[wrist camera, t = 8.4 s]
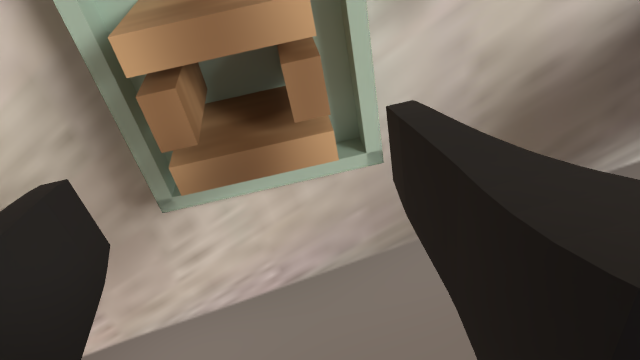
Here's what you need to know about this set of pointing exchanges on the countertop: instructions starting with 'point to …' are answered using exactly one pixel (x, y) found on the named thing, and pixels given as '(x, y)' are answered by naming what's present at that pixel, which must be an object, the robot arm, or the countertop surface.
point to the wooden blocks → (233, 113)
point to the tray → (240, 92)
